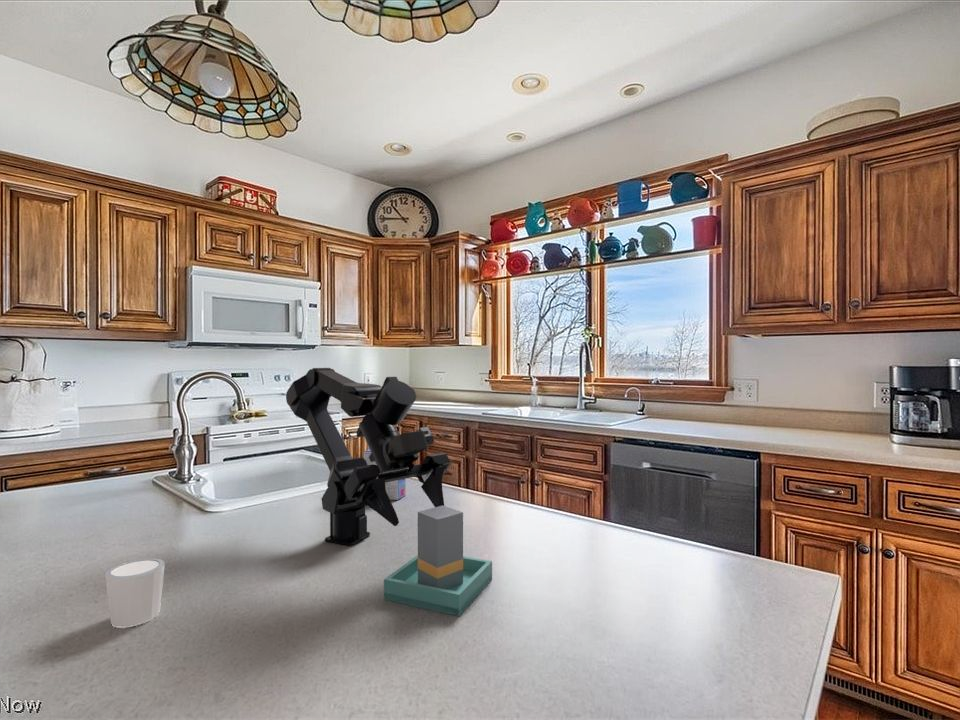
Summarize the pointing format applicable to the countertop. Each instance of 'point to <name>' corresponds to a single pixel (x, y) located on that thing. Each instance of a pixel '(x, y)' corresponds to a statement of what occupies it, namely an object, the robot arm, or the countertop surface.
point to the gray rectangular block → (440, 547)
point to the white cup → (135, 591)
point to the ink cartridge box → (392, 488)
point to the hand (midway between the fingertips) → (420, 518)
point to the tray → (449, 601)
